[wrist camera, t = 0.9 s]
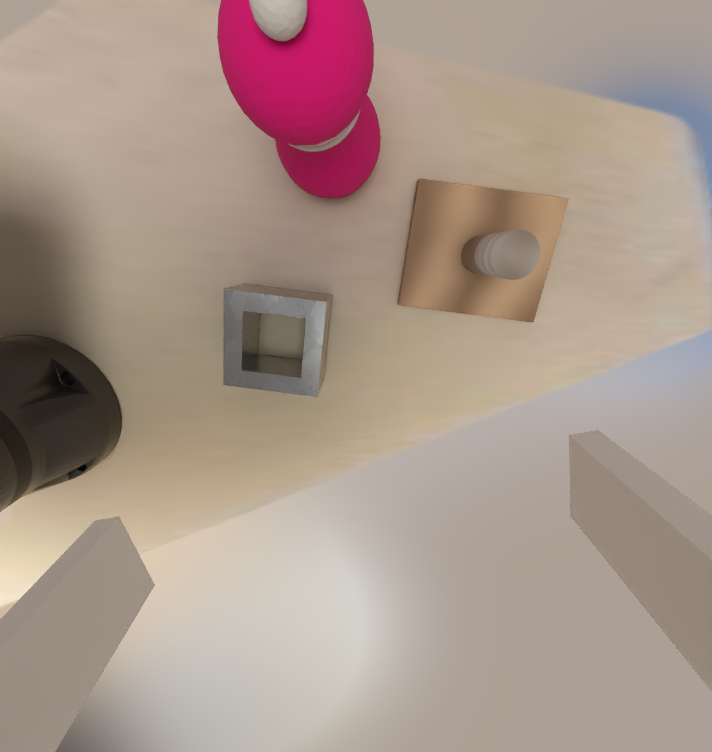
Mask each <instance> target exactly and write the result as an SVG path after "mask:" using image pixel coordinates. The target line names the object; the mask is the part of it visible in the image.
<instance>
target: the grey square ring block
mask: <svg viewBox="0 0 712 752" xmlns="http://www.w3.org/2000/svg"><path fill="white" fill-rule="evenodd" d="M331 305H332V295H329V294H322V293H314V292H306V291H299V290H291V289H283V288H275V287H268V286H260V285H252V284H241V285H237V286H233V287H229V288H225V289H224V385H229V386H237V387H244V388H252V389H260V390H268V391H276V392H284V393H292V394H299V395H307V396H315V397H317V396H318V394H319V391H320V388H321V385H322V382H323V379H324V374H325V364H326V355H327V345H328V335H329V325H330V315H331ZM260 313H265V314H273V315H280V316H288V317H296V318H304V319H306V322H305V335H304V347H303V360H299V359H291V358H283V357H275V356H268V355H260V354H259V333H260Z"/></svg>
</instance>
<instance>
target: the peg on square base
mask: <svg viewBox="0 0 712 752" xmlns="http://www.w3.org/2000/svg"><path fill="white" fill-rule="evenodd" d="M567 203H568V198H561V197H553V196H546V195H538V194H531V193H523V192H516V191H508V190H501V189H493V188H486V187H478V186H471V185H463V184H456V183H448V182H441V181H433V180H426V179H419V180H418V182H417V188H416V195H415V201H414V207H413V213H412V220H411V226H410V232H409V238H408V245H407V251H406V257H405V263H404V269H403V276H402V282H401V288H400V294H399V301H398V304H399V305H403V306H411V307H418V308H426V309H434V310H441V311H449V312H457V313H465V314H472V315H480V316H488V317H495V318H503V319H511V320H518V321H526V322H534V318H535V315H536V311H537V308H538V304H539V301H540V297H541V294H542V290H543V287H544V283H545V280H546V276H547V273H548V269H549V266H550V262H551V259H552V255H553V252H554V248H555V245H556V241H557V238H558V234H559V231H560V227H561V224H562V220H563V217H564V213H565V210H566V206H567Z"/></svg>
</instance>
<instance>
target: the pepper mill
mask: <svg viewBox="0 0 712 752" xmlns="http://www.w3.org/2000/svg"><path fill="white" fill-rule="evenodd" d="M217 37H218V45H219V54H220V59H221V64H222V68H223V72H224V75H225V78H226V80H227V83H228V85H229V88H230V90H231V92H232V94H233V96H234V98H235V99H236V101H237V103H238V105H239V106H240V107H241V109H242V110H243V112H244V113H245V114H246V115H247V116H248V117H249V118H250V120H251V121H252V122H253V123H254V124H255V125H256V126H257V127H258V128H260V129H261V130H262V131H264V132H265V133H266V134H267V135H269V136H271V137H272V138H274V139H276V147H277V151H278V154H279V157H280V160H281V162H282V164H283V166H284V168H285V170H286V171H287V173H288V174H289V176H290V177H291V179H292V180H293V181H294V182H295V183H296V184H297V185H298V186H299V187H300V188H302V189H303V190H305V191H307V192H308V193H310V194H312V195H315V196H318V197H323V198H340V197H345V196H348V195H350V194H352V193H353V192H355V191H356V190H357V189H358V188H359V187H361V185H362V184H363V183H364V182H365V181H366V180H367V178H368V177H369V176H370V174H371V173H372V171H373V169H374V167H375V164H376V162H377V159H378V155H379V150H380V128H379V123H378V118H377V114H376V111H375V109H374V106H373V104H372V102H371V100H370V98H369V97H368V96H367V92H368V89H369V86H370V83H371V78H372V72H373V55H374V44H373V37H372V30H371V24H370V20H369V16H368V13H367V9H366V7H365V4H364V2H363V0H221V4H220V8H219V15H218V35H217Z"/></svg>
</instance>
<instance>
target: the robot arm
mask: <svg viewBox="0 0 712 752" xmlns="http://www.w3.org/2000/svg"><path fill="white" fill-rule="evenodd" d="M120 429H121V415H120V409H119V405H118V402H117V399H116V396H115V394H114V392H113V390H112V388H111V386H110V385H109V383H108V382H107V380H106V379H105V377H104V376H103V375H102V373H101V372H100V371H99V370H98V369H97V368H96V367H95V366H94V365H93V364H92V363H91V362H90V361H89V360H88V359H86V358H85V357H84V356H83V355H81V354H80V353H78V352H77V351H75V350H74V349H72V348H70V347H68V346H66V345H64V344H62V343H60V342H57V341H55V340H52V339H48V338H44V337H39V336H32V335H19V336H12V337H8V338H4V339H0V512H1V511H2V510H3V509H5V508H6V507H8V506H9V505H10V504H12V503H13V502H15V501H16V500H18V499H19V498H21V497H22V496H25V495H28V494H31V493H34V492H36V491H39V490H42V489H45V488H48V487H51V486H53V485H56V484H59V483H62V482H65V481H68V480H70V479H73V478H76V477H78V476H80V475H82V474H84V473H86V472H88V471H89V470H90V469H92V468H93V467H94V466H96V465H97V464H98V463H100V462H101V461H102V460H103V459H105V458H106V457H107V456H108V455H109V454H110V453H111V451H112V450H113V449H114V447H115V445H116V443H117V441H118V438H119V435H120ZM569 457H570V510H571V517H572V518H573V520H574V521H575V522H576V523H577V525H578V526H579V527H580V528H581V529H582V531H583V532H584V533H585V535H586V536H587V537H588V538H589V539H590V541H591V542H592V543H593V545H594V546H595V547H596V548H597V550H598V551H599V552H600V553H601V554H602V556H603V557H604V558H605V559H606V561H607V562H608V563H609V564H610V566H611V567H612V568H613V569H614V570H615V572H616V573H617V574H618V576H619V577H620V578H621V579H622V580H623V582H624V583H625V584H626V585H627V587H628V588H629V589H630V590H631V592H632V593H633V594H634V595H635V596H636V598H637V599H638V600H639V602H640V603H641V604H642V605H643V606H644V608H645V609H646V610H647V612H648V613H649V614H650V615H651V617H652V618H653V619H654V620H655V622H656V623H657V624H658V625H659V626H660V628H661V629H662V630H663V631H664V633H665V634H666V635H667V636H668V638H669V639H670V640H671V641H672V643H673V644H674V645H675V646H676V647H677V649H678V650H679V651H680V653H681V654H682V655H683V656H684V658H685V659H686V660H687V661H688V662H689V664H690V665H691V666H692V667H693V669H694V670H695V671H696V672H697V674H698V675H699V676H700V677H701V679H702V680H703V681H704V682H705V684H706V685H707V686H708V687H709V688H710V690H711V691H712V515H711V514H709V513H708V512H707V511H706V510H704V509H703V508H701V507H700V506H698V505H697V504H696V503H695V502H693V501H692V500H691V499H689V498H688V497H687V496H685V495H684V494H683V493H681V492H680V491H679V490H677V489H676V488H674V487H673V486H672V485H671V484H669V483H668V482H667V481H665V480H664V479H663V478H661V477H660V476H659V475H657V474H656V473H655V472H653V471H652V470H651V469H649V468H648V467H647V466H645V465H644V464H643V463H641V462H640V461H638V460H637V459H636V458H634V457H633V456H632V455H631V454H629V453H628V452H626V451H625V450H624V449H622V448H621V447H620V446H618V445H617V444H616V443H614V442H613V441H612V440H610V439H609V438H608V437H606V436H605V435H604V434H602V433H601V432H600V431H598V430H595V431H590V432H585V433H579V434H574V435H569ZM153 587H154V583H153V581H152V579H151V577H150V575H149V573H148V571H147V570H146V567H145V566H144V563H143V562H142V560H141V558H140V556H139V554H138V552H137V550H136V548H135V546H134V544H133V542H132V540H131V539H130V537H129V535H128V533H127V531H126V529H125V527H124V525H123V523H122V521H121V519H120V517H114V518H108V519H102V520H97V521H94V522H93V523H92V525H91V526H90V527H89V528H88V529H87V530H86V531H85V532H84V533H83V534H82V535H81V536H80V537H79V538H78V539H77V540H76V541H75V542H74V543H73V544H72V545H71V546H70V547H69V548H68V550H67V551H66V552H65V553H64V554H63V555H62V556H61V557H60V558H59V559H58V560H57V561H56V562H55V563H54V564H53V565H52V566H51V567H50V568H49V569H48V570H47V571H46V572H45V573H44V575H43V576H42V577H41V578H40V579H39V580H38V581H37V582H36V583H35V584H34V585H33V586H32V587H31V588H30V589H29V590H28V591H27V592H26V593H25V594H24V595H23V596H22V597H21V598H20V600H19V601H18V602H17V603H16V604H15V605H14V606H13V607H12V608H11V609H10V610H9V611H8V612H7V613H6V614H5V615H4V616H3V617H2V618H1V619H0V752H55V751H56V749H57V748H58V746H59V744H60V743H61V741H62V739H63V737H64V736H65V734H66V733H67V731H68V729H69V727H70V726H71V724H72V722H73V721H74V719H75V717H76V716H77V714H78V712H79V711H80V709H81V707H82V706H83V704H84V702H85V701H86V699H87V697H88V696H89V694H90V692H91V691H92V689H93V687H94V686H95V684H96V682H97V681H98V679H99V677H100V676H101V674H102V672H103V671H104V669H105V667H106V666H107V664H108V662H109V661H110V659H111V657H112V656H113V654H114V652H115V651H116V649H117V647H118V645H119V644H120V642H121V640H122V639H123V637H124V636H125V634H126V632H127V631H128V629H129V627H130V626H131V624H132V622H133V621H134V619H135V617H136V616H137V614H138V612H139V611H140V609H141V607H142V605H143V604H144V602H145V600H146V599H147V597H148V595H149V594H150V592H151V590H152V589H153Z"/></svg>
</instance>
